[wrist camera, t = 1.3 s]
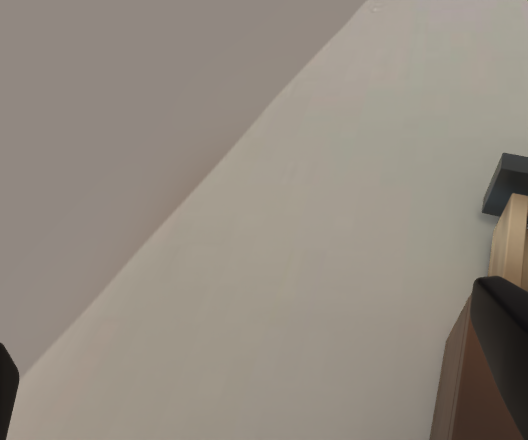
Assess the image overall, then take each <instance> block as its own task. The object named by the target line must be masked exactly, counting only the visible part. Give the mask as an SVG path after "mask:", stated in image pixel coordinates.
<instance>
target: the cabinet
mask: <svg viewBox="0 0 528 440" xmlns="http://www.w3.org/2000/svg"><path fill="white" fill-rule="evenodd" d="M471 298H472V293H471V295H470V297H469V298H468V300H467V302H466V304H465V306H464V308H463V310H462V311H461V313H460V315H459V317H458V319H457V321H456V323H455V325H454V327H453V329H452V331H451V333H450V335H449V337H448V339H447V341H446V346H445V352H444V357H443V363H442V369H441V375H440V381H439V387H438V392H437V398H436V404H435V410H434V416H433V422H432V428H431V433H430V439H429V440H524V439H523V437H522V435H521V434H520V432H519V430H518V428H517V426H516V424H515V422H514V420H513V419H512V417H511V415H510V413H509V411H508V409H507V407H506V405H505V403H504V401H503V399H502V397H501V395H500V393H499V390H498V388H497V386H496V383H495V381H494V378H493V376H492V373H491V371H490V368H489V365H488V363H487V360H486V358H485V355H484V353H483V350H482V348H481V345H480V343H479V340H478V338H477V335H476V333H475V330H474V328H473V325H472V323H471V319H470V305H471Z"/></svg>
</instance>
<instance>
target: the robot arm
mask: <svg viewBox="0 0 528 440" xmlns="http://www.w3.org/2000/svg"><path fill="white" fill-rule="evenodd" d="M470 319H471V323H472V325H473V328H474V330H475V333H476V335H477V338H478V340H479V343H480V345H481V348H482V350H483V353H484V355H485V358H486V360H487V363H488V365H489V368H490V371H491V373H492V376H493V378H494V381H495V383H496V386H497V388H498V390H499V393H500V395H501V397H502V399H503V401H504V403H505V405H506V407H507V409H508V411H509V413H510V415H511V417H512V419H513V420H514V422H515V424H516V426H517V428H518V430H519V432H520V434H521V435H522V437H523V439H524V440H528V291H526V290H524V289H522V288H521V287H519V286H517V285H515V284H513V283H512V282H510V281H508V280H506V279H504V278H503V277H500V276H488V277H480V278H477V279H476V280H475V281H474V284H473V290H472V298H471V305H470ZM18 385H19V372H18V369H17V367H16V365H15V364H14V362H13V360H12V358H11V357H10V355H9V353H8V352H7V350H6V348H5V347H4V345H3V344H2V343H0V440H6V437H7V433H8V428H9V424H10V420H11V415H12V411H13V407H14V402H15V398H16V394H17V389H18Z"/></svg>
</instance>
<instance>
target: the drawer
mask: <svg viewBox="0 0 528 440" xmlns="http://www.w3.org/2000/svg"><path fill="white" fill-rule="evenodd" d="M482 213H486V214H490V215H495V216H500V219H499V221H498V223H497V225H496V227H495V229H494V232H493V240H492V248H491V255H490V263H489V271H488V276H500V277H503V278H504V279H506V280H508V281H510V282H512V283H513V284H515V285H517V286H519V287H521V288H522V289H524V290H526V291H528V229H526V227H527V222H528V157H524V156H519V155H513V154H508V153H503V154H502V156H501V159H500V161H499V163H498V166H497V168H496V170H495V173H494V175H493V177H492V180H491V182H490V185H489V187H488V189H487V192H486V194H485V196H484V200H483V207H482Z"/></svg>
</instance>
